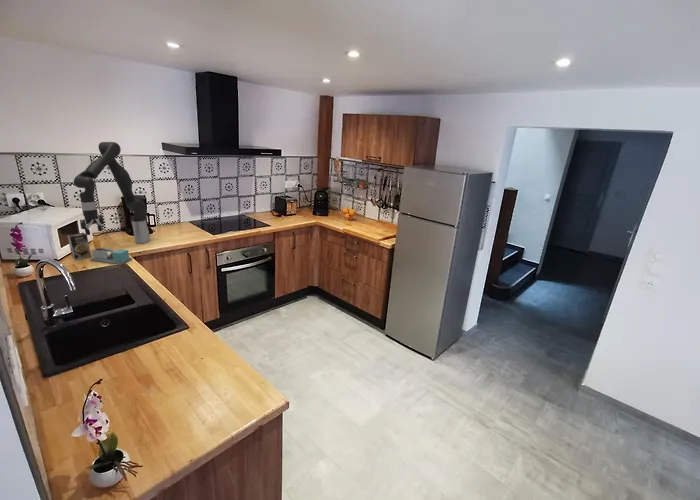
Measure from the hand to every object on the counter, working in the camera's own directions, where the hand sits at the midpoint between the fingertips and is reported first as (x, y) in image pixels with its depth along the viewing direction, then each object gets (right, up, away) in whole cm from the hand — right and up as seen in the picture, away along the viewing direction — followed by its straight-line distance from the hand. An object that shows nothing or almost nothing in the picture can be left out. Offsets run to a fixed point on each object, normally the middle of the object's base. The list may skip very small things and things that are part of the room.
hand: (94, 232), depth 222 cm
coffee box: (-13, -16, +7) cm, 22 cm away
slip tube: (+4, -15, +5) cm, 16 cm away
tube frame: (+8, -18, +5) cm, 20 cm away
